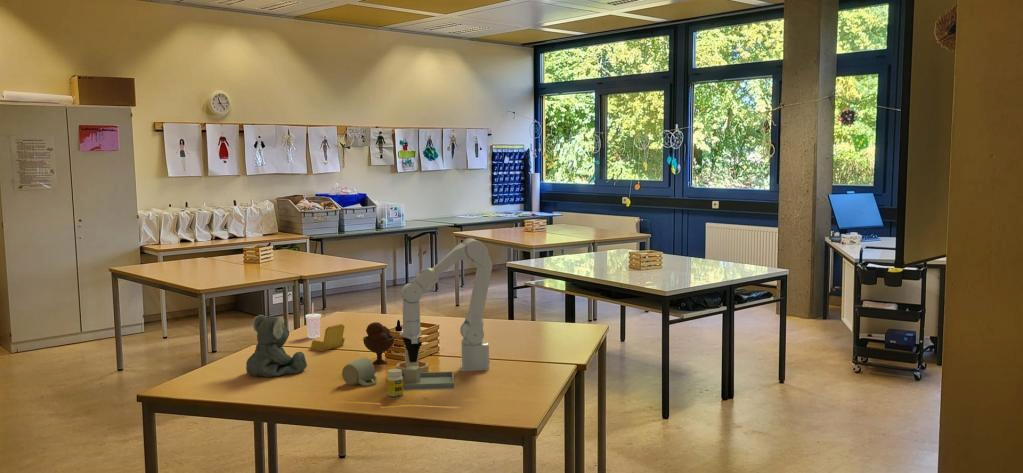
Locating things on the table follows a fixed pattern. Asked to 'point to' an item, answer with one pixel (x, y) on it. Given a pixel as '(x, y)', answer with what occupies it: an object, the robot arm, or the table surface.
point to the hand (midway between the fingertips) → (412, 360)
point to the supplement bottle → (394, 384)
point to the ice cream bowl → (378, 341)
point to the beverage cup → (313, 324)
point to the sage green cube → (407, 361)
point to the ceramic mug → (359, 372)
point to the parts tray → (432, 381)
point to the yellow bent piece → (330, 338)
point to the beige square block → (412, 375)
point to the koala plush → (273, 350)
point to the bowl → (423, 365)
